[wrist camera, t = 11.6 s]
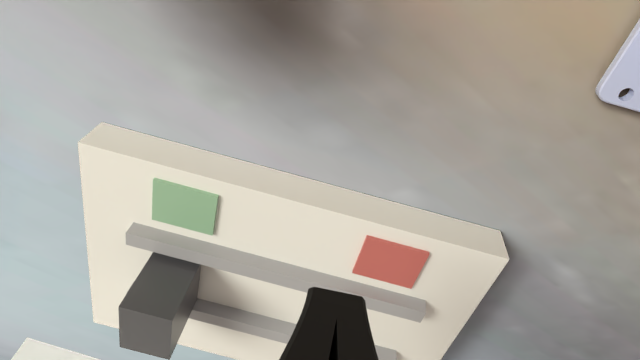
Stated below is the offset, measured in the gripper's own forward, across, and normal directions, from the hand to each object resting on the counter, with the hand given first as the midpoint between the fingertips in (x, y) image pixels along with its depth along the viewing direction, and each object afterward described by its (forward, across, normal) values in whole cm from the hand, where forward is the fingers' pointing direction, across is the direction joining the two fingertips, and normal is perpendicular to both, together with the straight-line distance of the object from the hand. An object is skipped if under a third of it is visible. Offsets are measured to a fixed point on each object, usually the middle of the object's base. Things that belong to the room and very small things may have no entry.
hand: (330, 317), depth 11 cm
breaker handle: (+8, +7, +9) cm, 14 cm away
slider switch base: (+10, +2, +10) cm, 14 cm away
